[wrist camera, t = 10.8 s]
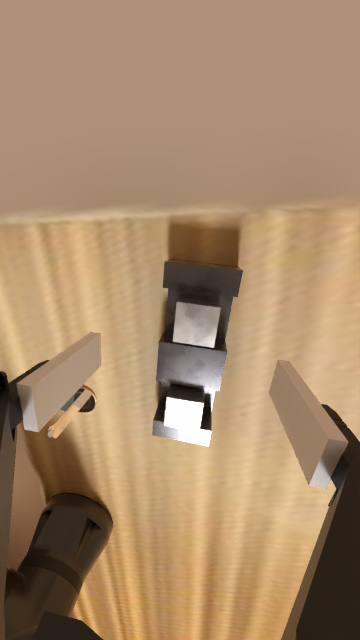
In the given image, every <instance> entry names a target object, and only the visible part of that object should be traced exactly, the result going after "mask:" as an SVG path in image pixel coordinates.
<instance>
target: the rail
mask: <svg viewBox="0 0 360 640" xmlns="http://www.w3.org/2000/svg"><path fill="white" fill-rule="evenodd" d="M242 272H243V270H242V269H240V268H239V267H235V266H226V265H217V264H208V263H199V262H190V261H182V260H173V259H171V260H168V261H165V265H164V279H163V288H168V301H167V313H166V325H165V332H164V334H163V335H162V337H161V339H160V341H159V349H158V363H157V376H156V381H161V387H160V400H159V405H158V408H157V411H156V414H155V417H154V420H153V432H152V435H154V436H159V437H164V438H169V439H174V440H179V441H184V442H189V443H194V444H199V445H204V446H209V441H210V436H211V412H212V406H213V401H214V396H215V391H219V390H220V385H221V380H222V374H223V369H224V364H225V359H226V354H227V350H226V343H225V337H226V332H227V326H228V321H229V316H230V311H231V305H232V300H233V296H234V297H238V292H239V287H240V282H241V277H242ZM183 292H185V293H193V294H201V295H208V296H216V297H219V300H220V306H221V309H220V315H219V321H218V327H217V333H216V338H215V344H214V348H212V347H205V346H199V345H192V344H186V343H179V342H173V334H174V324H175V314H176V303H177V301H178V299H179V297H180V296H181V294H182V293H183ZM171 383H173V384H179V385H185V386H191V387H197V388H202V389H204V404H203V410H202V416H201V422H200V428H199V432H195V431H190V430H184V429H179V428H174V427H169V426H164V420H165V410H166V399H167V394H168V391H169V388H170V384H171Z"/></svg>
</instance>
